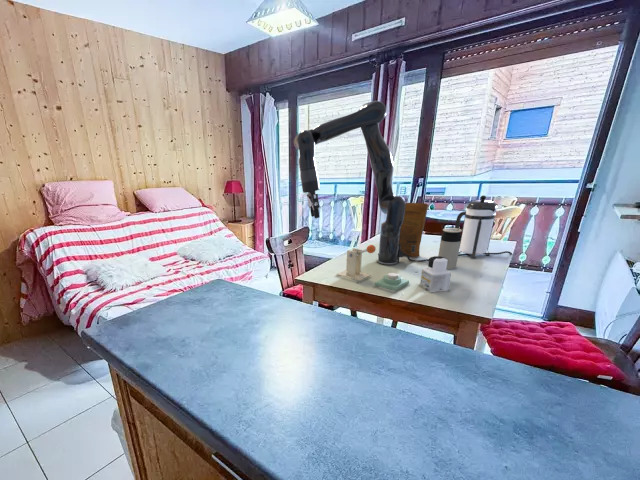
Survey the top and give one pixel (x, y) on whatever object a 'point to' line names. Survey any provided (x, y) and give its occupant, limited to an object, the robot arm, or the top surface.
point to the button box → (391, 283)
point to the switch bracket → (353, 266)
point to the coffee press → (477, 226)
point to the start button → (392, 276)
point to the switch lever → (367, 250)
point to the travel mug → (450, 246)
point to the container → (436, 275)
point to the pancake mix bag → (413, 228)
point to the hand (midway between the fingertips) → (315, 217)
